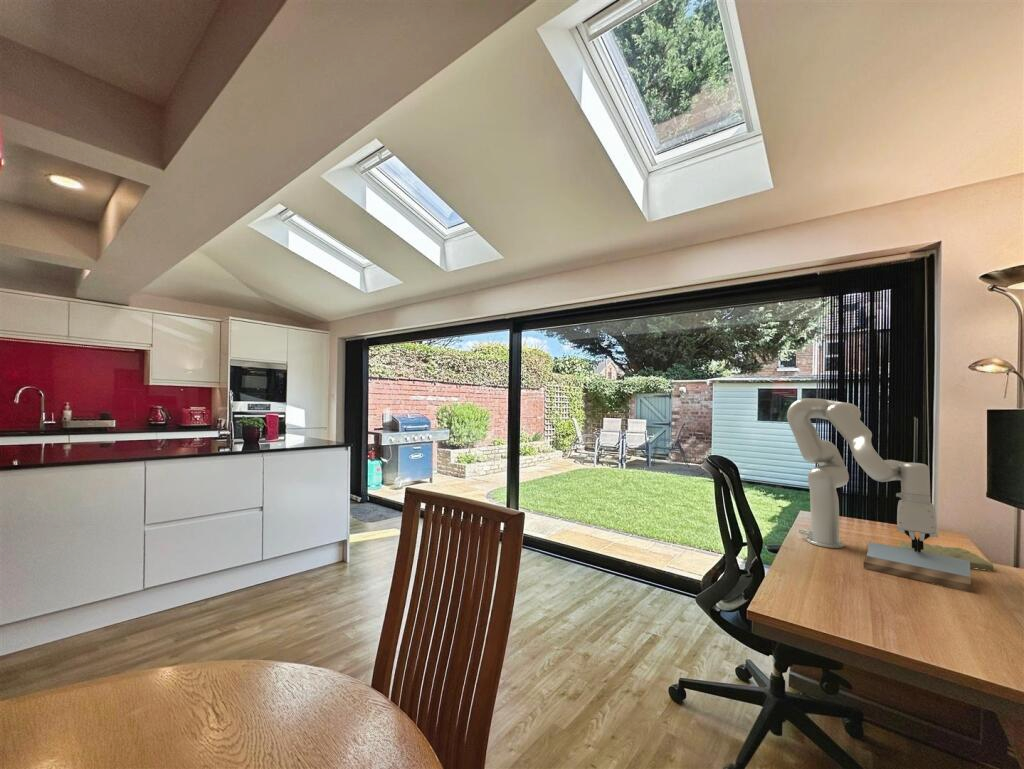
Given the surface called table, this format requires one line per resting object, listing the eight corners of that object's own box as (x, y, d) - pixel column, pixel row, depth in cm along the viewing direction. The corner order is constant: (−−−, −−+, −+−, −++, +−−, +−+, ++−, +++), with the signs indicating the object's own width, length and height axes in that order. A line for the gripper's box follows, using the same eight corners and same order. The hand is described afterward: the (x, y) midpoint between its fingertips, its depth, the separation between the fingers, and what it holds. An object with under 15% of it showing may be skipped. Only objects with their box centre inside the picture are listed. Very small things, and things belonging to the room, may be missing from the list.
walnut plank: (863, 568, 153) (863, 561, 153) (866, 562, 158) (866, 556, 158) (971, 592, 134) (971, 584, 134) (970, 584, 140) (970, 577, 140)
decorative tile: (994, 572, 151) (994, 562, 151) (922, 564, 158) (921, 555, 158) (960, 554, 169) (960, 545, 169) (896, 548, 175) (896, 539, 175)
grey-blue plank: (867, 560, 159) (866, 555, 159) (869, 546, 164) (869, 541, 164) (970, 582, 141) (970, 577, 140) (969, 565, 146) (969, 560, 145)
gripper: (886, 496, 157) (888, 548, 156) (945, 503, 146) (947, 559, 145) (889, 493, 162) (890, 543, 161) (945, 500, 151) (947, 553, 151)
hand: (917, 550), depth 153 cm, fingers closed
